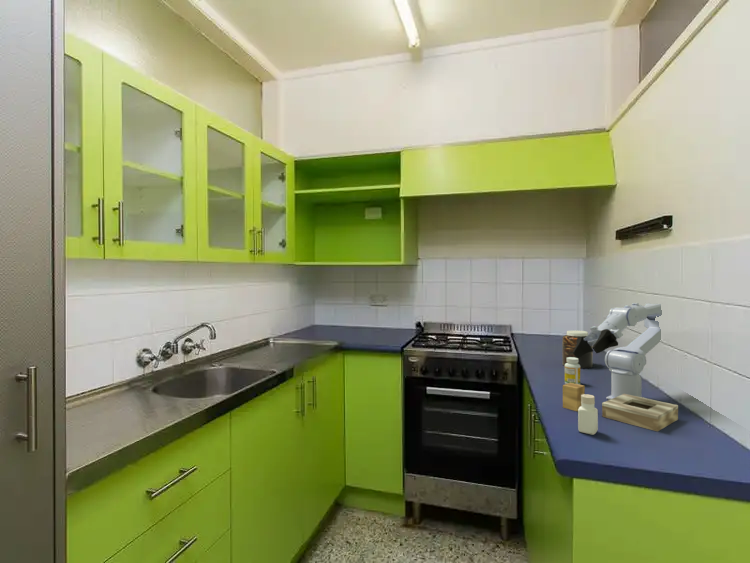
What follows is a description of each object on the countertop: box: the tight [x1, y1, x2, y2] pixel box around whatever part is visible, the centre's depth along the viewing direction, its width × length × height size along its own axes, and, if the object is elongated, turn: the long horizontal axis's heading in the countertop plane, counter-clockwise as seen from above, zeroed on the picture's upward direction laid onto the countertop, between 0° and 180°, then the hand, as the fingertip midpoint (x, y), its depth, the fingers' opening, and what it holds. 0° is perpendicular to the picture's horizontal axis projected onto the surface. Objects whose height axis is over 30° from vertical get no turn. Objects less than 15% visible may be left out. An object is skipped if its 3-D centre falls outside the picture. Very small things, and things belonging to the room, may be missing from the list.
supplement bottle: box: [564, 357, 581, 385], centre depth 151 cm, size 5×5×10 cm
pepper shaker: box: [577, 393, 599, 435], centre depth 107 cm, size 4×4×10 cm
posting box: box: [601, 394, 679, 432], centre depth 116 cm, size 14×14×4 cm
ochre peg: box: [562, 383, 586, 412], centre depth 126 cm, size 4×4×7 cm
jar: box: [561, 330, 594, 369], centre depth 179 cm, size 12×12×15 cm
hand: (584, 352), depth 121 cm, fingers open, 7 cm apart
